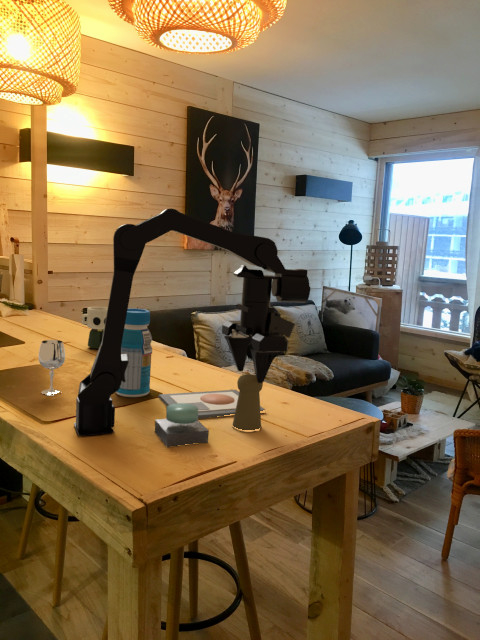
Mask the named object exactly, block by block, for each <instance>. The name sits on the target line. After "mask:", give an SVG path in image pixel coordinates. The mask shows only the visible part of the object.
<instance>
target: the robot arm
mask: <svg viewBox="0 0 480 640" xmlns="http://www.w3.org/2000/svg"><path fill="white" fill-rule="evenodd" d="M169 232H176V233H178V234H181V235H183V236H187V237H189V238H191V239H195V240H197V241H200V242H203V243H205V244H208V245H212V246H215V247H218V248H220V249H223V250H224V251H227V252H229V253H231V254H232V255H233V256H235V257H237V258H238V259H240V260H241V261H244V262H245V263H247V264H249V265H251V266H254V267H255V266H256V267H258V268H261V269H263V270H264V271H266V272H270V273H273V274H274V275H272V274H271V275H269V274H264V271H263V270H261V269H254V268H253V269H252V268H248V267H247V265H245V264H242V265H240V266H239V267H238V269H236V270H235V271H234V272H233V273H232V274H233V276H234V277H236V278H243V280H242V293H241V303H237V307H236V309H237V310H240V317H239V319H240V320H226V321H224V322H223V324H222V326H221V334H223V335H224V339H225V342H226V343H227V346H228V348H229V351H230V353H231V356H232V358H233V361H234V364H235V366H236V369H237V371H238V372H243V371H244V369H245V365H246V360H247V353H248V347H249V346H250V344H251V347H252V348H251V349H250V353H251V354H250V355H251V359H252V364H253V368H254V373H255V374H254V375H256V378H257V382H258V383H264V381H265V379H266V377H267V374H268V372H269V371H270V367H271V365H272V363H273V361H274V359H275V358H277V357H278V356H279V355H282V354H284V352H288V351H289V342H290V341H289V339H290V338H291V336H292V333H293V331H294V329H295V325H296V323H294V322H293V321H290V320H287V319H284V318H283V317H282V316H281V313H279V312H278V311H276V309H275V308H274V307H273V306H271V297H272V296H273V297H275V299H276V301H277V302H279V303H301V304H304V303H305V304H306V303H307V302H308V301H309V298H310V295H311V286H310V279H309V276H308V270H307V269H305V268H295V269H292V268H291V269H289V268H286V267H285V266H284V264H283V263H282V260H281V259H280V257H279V256H278V252H279V251H278V247H277V245H276V242H274V240H272V239H270V238H269V237H264V236H258V235H254V234H253V235H252V234H246V233H239V232H236V231H235V232H234V231H232V230H228V229H226V228H224V227H221V226H218V225H216V224H212V223H210V222H207V221H205V220H201V219H199V218H197V217H194V216H190V215H189V214H186V213H182V212H180V211H179V210H178V209H175V208H167V209H164V210H163V211H161V213H158V214H157V215H155V216H152V217H150V218H147V219H145V220H143V221H142V222H140V223H139V222H138V223H137V224H132V223H125V224H121V225H120V226H118V227H117V228H116V229H115V231H114V233H113V237H112V239H113V240H112V243H113V245H112V246H113V248H112V249H113V251H112V252H113V253H112V254H113V255H112V256H113V273H112V274H113V275H112V280H111V285H110V291H109V292H110V293H109V298H108V303H107V308H108V309H107V315H106V321H105V327H104V333H103V339H102V342H101V345H100V348H98V350H97V353H96V356H95V358H94V360H93V364H92V366H91V369H90V373H89V374H88V375H87V376H85V378H83V379H82V380H81V381H80V382H79V387H78V391H77V392H78V393H77V396H76V399H75V400H76V402H75V403H76V404H75V405H76V406H75V422H73V426H74V429H75V432H76V433H77V436H79V437H87V436H89V437H90V436H97V435H98V436H99V435H109V434H111V435H112V434H114V429H113V428H115V420H116V419H115V417H116V416H115V415H116V406H115V405H114V404H113V399H112V395H114V394H116V391H118V390H119V388H120V386H121V383H122V381H123V382H126V381H125V371H126V368H127V365H128V362H129V361H128V355H127V354H121V345H122V339H123V333H124V327H125V321H126V316H127V310H128V309H129V303H130V297H131V291H132V287H133V280H134V275H135V272H136V270H137V268H138V265H139V263H140V261H141V257H142V255H143V253H144V250H145V247H146V244H148V243H150V242H152V241H154V240H156V239H157V238H160V237H161V236H164V235H166V234H167V233H169Z"/></svg>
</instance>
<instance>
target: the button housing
mask: <svg viewBox="0 0 480 640" xmlns="http://www.w3.org/2000/svg"><path fill="white" fill-rule="evenodd" d="M154 433H155V434H156V436H157V437H158V438H159V440H161V442H162V443H163V444H164V445H165V447H166V446H167V447H166V448H171V447H170V446H176V447H179V446H178V445H185V444H193V443H204V444H208V443H209V436H210V435H209V433H210V430H209V429H208V428H207V427H206V426H205V424H203V423H202V422H201V421H199V419H198V420H197V421H196V422H193V423H189V424H178V423H172V422H170V421H168V420H167V419H166V418H160V419H159V418H158V419H157V418H156V419H155V420H154ZM185 446H186V445H185Z"/></svg>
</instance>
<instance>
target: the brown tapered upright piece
mask: <svg viewBox="0 0 480 640" xmlns="http://www.w3.org/2000/svg"><path fill="white" fill-rule="evenodd" d="M263 383H264V382H263ZM263 383H258V382H257V378H256V374H249V373H248V374H246V373H245V374H242V375H240V376H239V377H238V379H237V382H236V384H237V389H238V391H239V396H238V401H237V405H236V410H235V415H234V416H233V421H232V425H233V426H234V427H236V428H238V429H242V430H255V429H259V428H260V427H261V428H262V416H261V415H262V414H261V413H260V406H261V398H260V395H261V394H260V393H261V391H262V389H263V385H264V384H263Z"/></svg>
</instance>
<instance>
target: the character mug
mask: <svg viewBox="0 0 480 640" xmlns="http://www.w3.org/2000/svg"><path fill="white" fill-rule="evenodd" d="M107 309H108V307H107V306H106V307H105V306H89V307H87V309H86V310H87V311H86V312H87V313H83V314H81V324H82V325H86V326H87V328H89V329H90V331H89V332H88V333H89V334H88V340H87V347H89V348H91V349H99V348H100V345H101V342H102V339H103V333H104V327H105V321H106V315H107ZM85 318H86V319H85ZM85 320H86V321H85Z"/></svg>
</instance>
